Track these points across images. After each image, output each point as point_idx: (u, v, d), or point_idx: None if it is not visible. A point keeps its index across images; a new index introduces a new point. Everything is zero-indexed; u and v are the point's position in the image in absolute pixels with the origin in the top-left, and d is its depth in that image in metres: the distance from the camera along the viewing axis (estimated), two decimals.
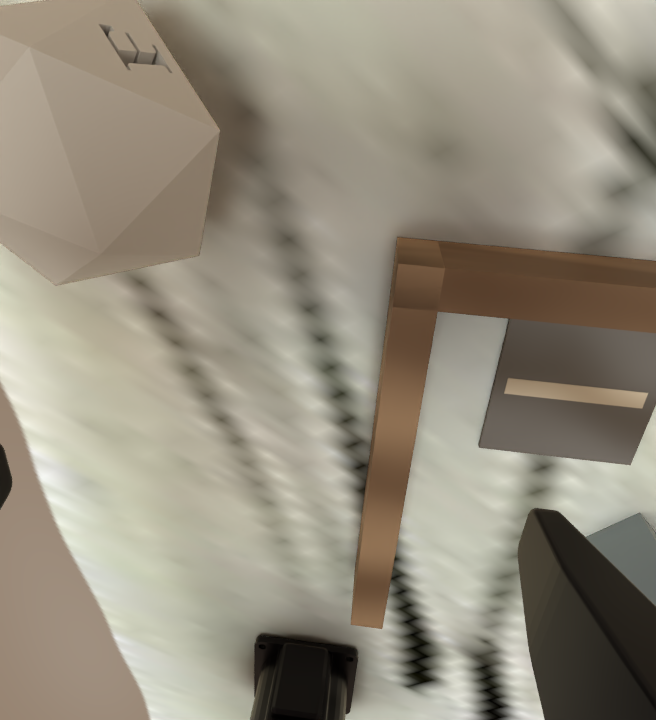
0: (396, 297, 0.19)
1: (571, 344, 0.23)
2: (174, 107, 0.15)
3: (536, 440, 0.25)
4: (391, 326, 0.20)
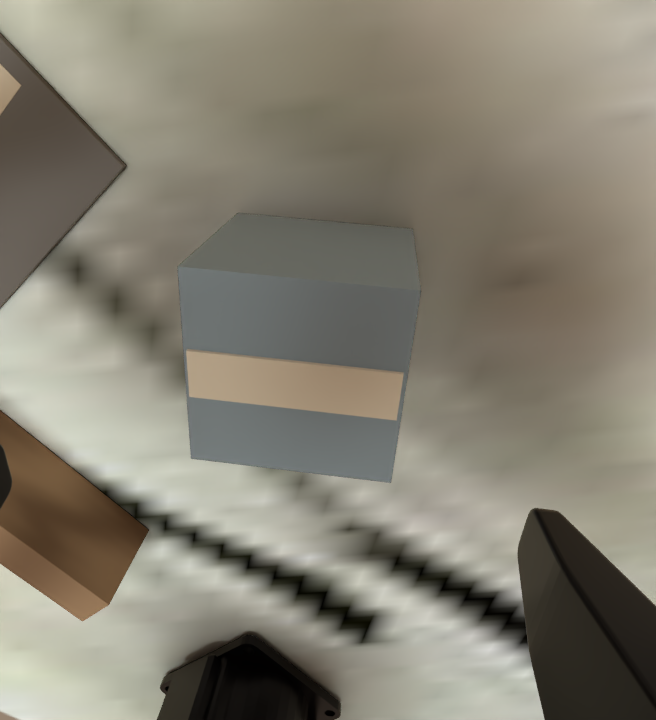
0: None
1: None
2: None
3: (15, 247, 0.16)
4: None
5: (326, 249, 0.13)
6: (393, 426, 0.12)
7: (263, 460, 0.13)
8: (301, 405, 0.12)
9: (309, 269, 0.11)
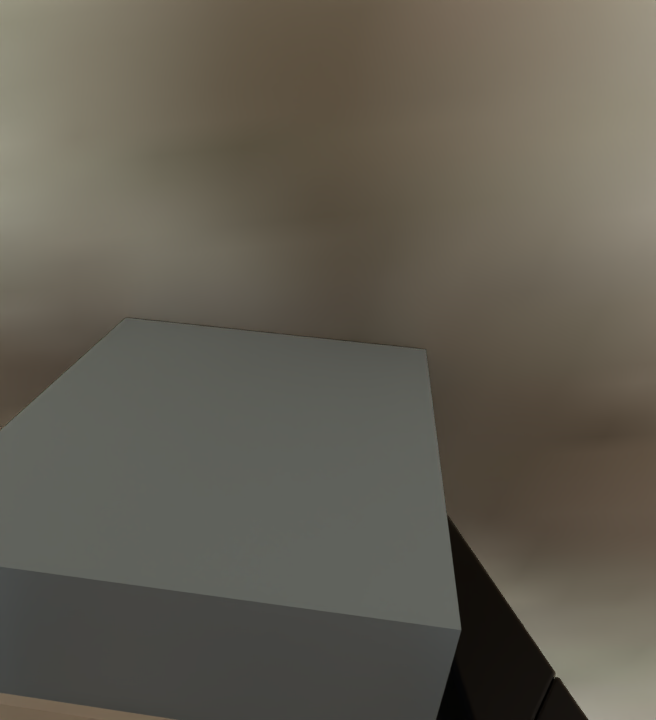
0: None
1: None
2: None
3: None
4: None
5: (256, 436, 0.06)
6: None
7: None
8: None
9: (197, 531, 0.05)
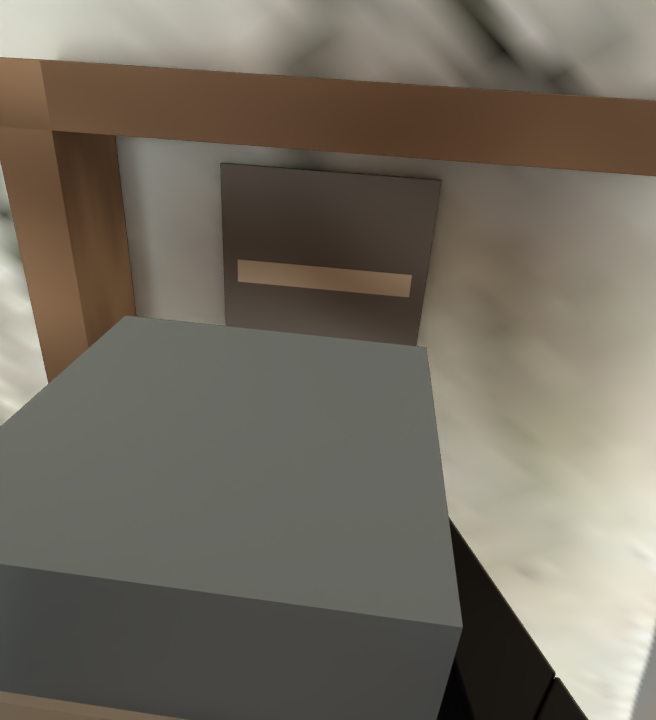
0: None
1: (302, 208, 0.17)
2: None
3: None
4: (1, 156, 0.14)
5: (256, 434, 0.06)
6: None
7: None
8: None
9: (197, 529, 0.05)
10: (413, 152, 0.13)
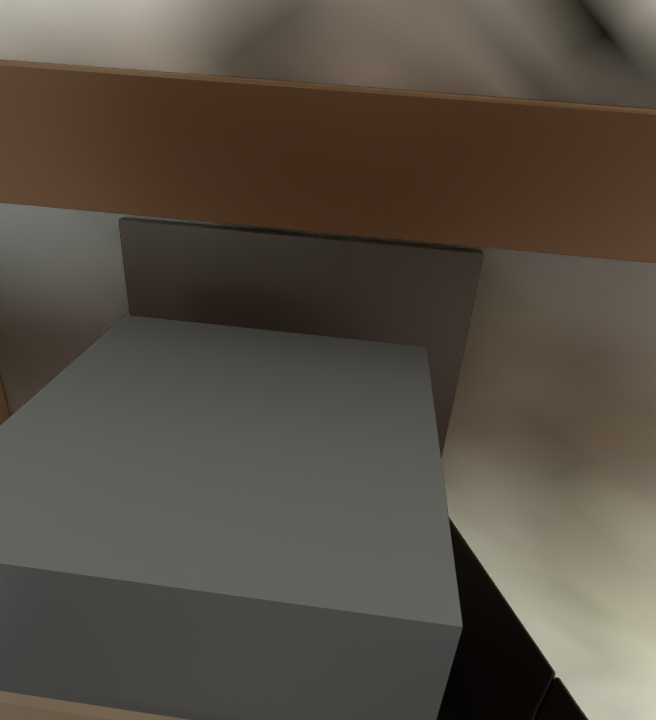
0: None
1: (255, 291, 0.11)
2: None
3: None
4: None
5: (256, 433, 0.06)
6: None
7: None
8: None
9: (197, 527, 0.05)
10: (449, 233, 0.07)
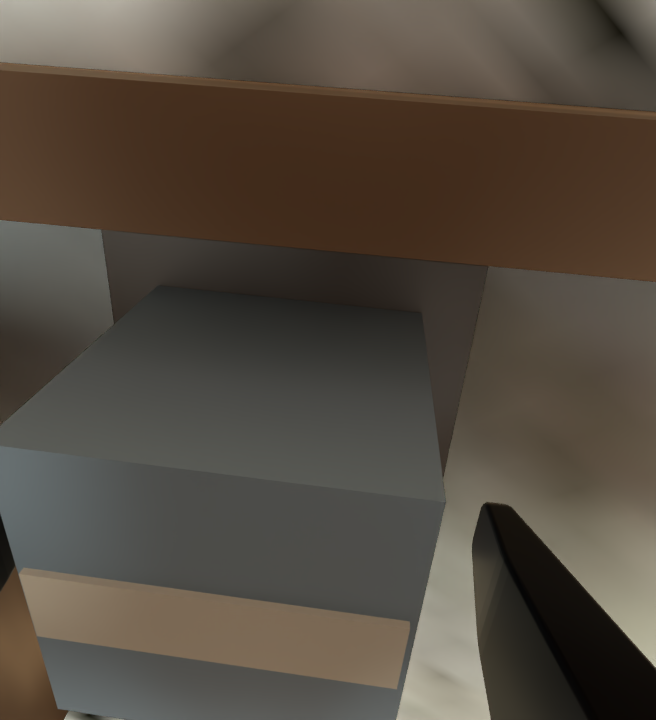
0: None
1: None
2: None
3: None
4: None
5: (278, 374, 0.08)
6: (391, 692, 0.07)
7: (175, 719, 0.08)
8: (231, 654, 0.07)
9: (237, 437, 0.06)
10: (453, 251, 0.06)
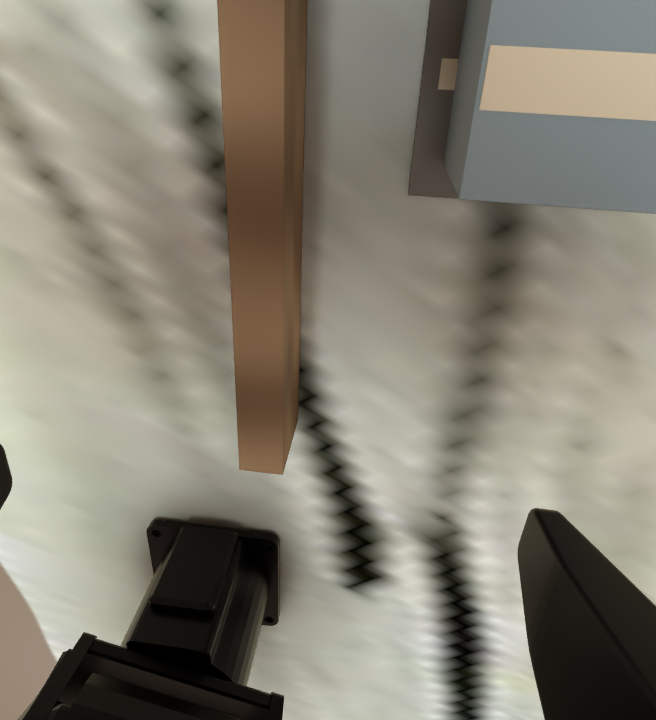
0: None
1: None
2: None
3: None
4: None
5: None
6: None
7: (542, 196, 0.12)
8: (604, 114, 0.11)
9: None
10: None
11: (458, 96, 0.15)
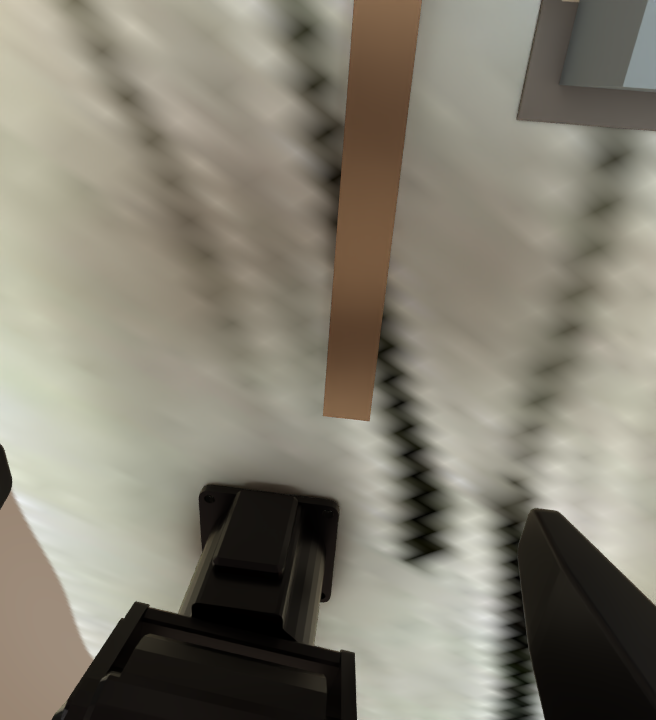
0: None
1: None
2: None
3: (608, 99, 0.16)
4: None
5: None
6: None
7: None
8: None
9: None
10: None
11: None
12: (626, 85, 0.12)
